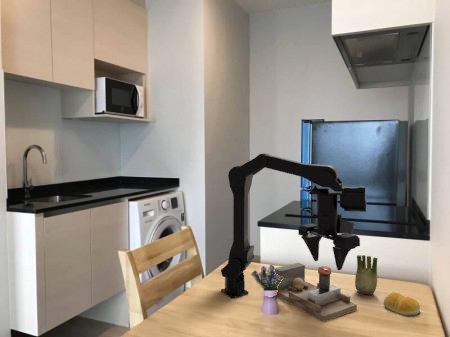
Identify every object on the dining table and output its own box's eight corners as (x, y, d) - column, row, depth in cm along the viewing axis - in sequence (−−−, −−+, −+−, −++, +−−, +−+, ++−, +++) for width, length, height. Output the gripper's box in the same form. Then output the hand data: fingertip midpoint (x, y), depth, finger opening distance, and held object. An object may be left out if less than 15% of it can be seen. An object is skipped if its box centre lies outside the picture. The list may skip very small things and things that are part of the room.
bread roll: (412, 319, 98) (413, 304, 97) (379, 307, 104) (380, 294, 104) (425, 310, 103) (425, 296, 103) (393, 299, 110) (393, 286, 110)
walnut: (290, 288, 114) (290, 277, 114) (298, 286, 116) (298, 275, 116) (298, 292, 111) (298, 281, 111) (306, 290, 113) (307, 278, 112)
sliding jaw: (306, 302, 103) (307, 270, 103) (331, 294, 109) (332, 263, 108) (316, 307, 100) (316, 274, 100) (341, 299, 105) (341, 267, 105)
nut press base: (270, 292, 115) (270, 269, 114) (301, 284, 121) (301, 261, 121) (323, 321, 96) (324, 293, 95) (356, 309, 103) (357, 283, 102)
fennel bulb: (378, 294, 113) (379, 256, 112) (369, 298, 110) (370, 259, 109) (361, 288, 118) (362, 251, 117) (352, 292, 115) (353, 254, 114)
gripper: (374, 212, 98) (374, 269, 99) (325, 203, 115) (325, 252, 116) (344, 217, 93) (344, 277, 94) (296, 206, 109) (297, 258, 110)
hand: (327, 265), depth 104 cm, fingers open, 9 cm apart
